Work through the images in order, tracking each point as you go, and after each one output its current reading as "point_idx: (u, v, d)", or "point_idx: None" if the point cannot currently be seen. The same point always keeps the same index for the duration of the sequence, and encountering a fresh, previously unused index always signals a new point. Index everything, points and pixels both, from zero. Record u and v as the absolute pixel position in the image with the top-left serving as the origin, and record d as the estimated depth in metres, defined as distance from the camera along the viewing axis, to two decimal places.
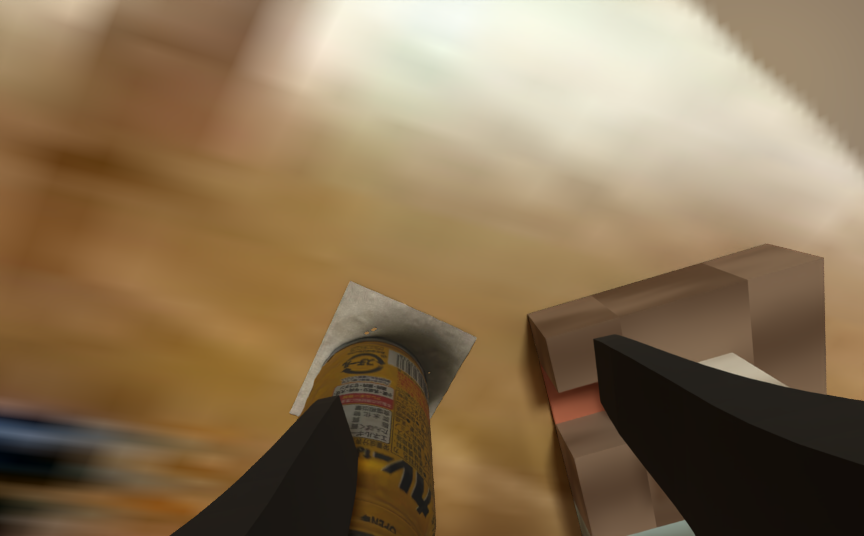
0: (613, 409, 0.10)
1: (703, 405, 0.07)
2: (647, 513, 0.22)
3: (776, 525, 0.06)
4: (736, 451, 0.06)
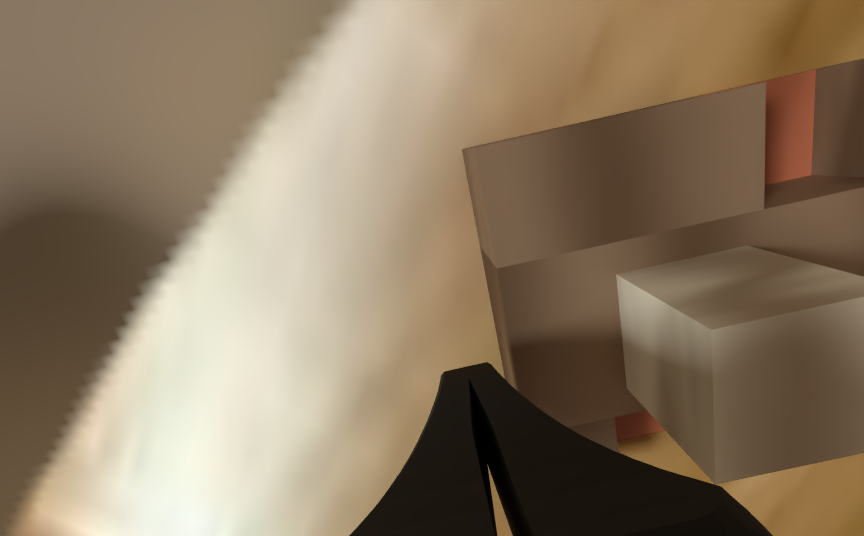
0: (481, 438, 0.10)
1: (499, 449, 0.07)
2: None
3: None
4: (513, 499, 0.06)
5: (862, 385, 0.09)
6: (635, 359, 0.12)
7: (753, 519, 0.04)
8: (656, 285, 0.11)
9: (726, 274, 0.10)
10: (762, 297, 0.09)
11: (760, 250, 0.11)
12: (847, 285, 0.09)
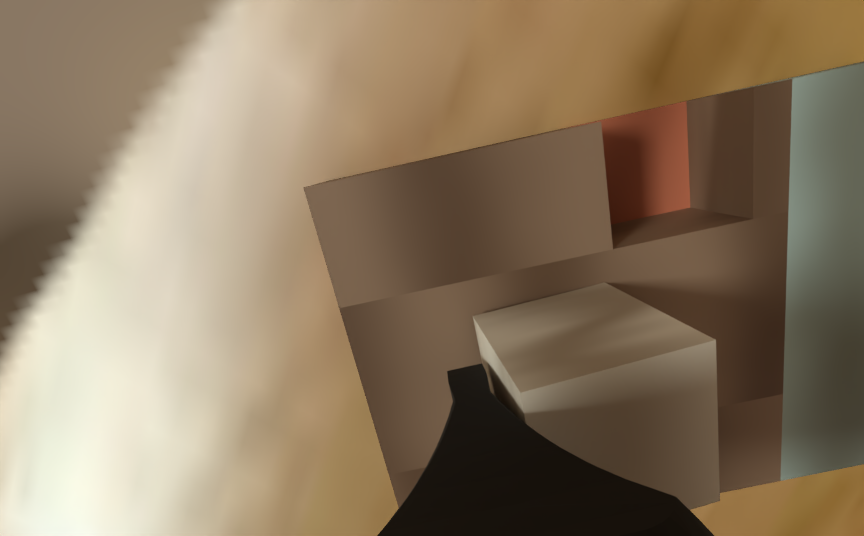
0: None
1: (470, 455, 0.07)
2: (747, 410, 0.13)
3: None
4: None
5: (687, 440, 0.08)
6: None
7: (704, 530, 0.04)
8: (500, 331, 0.10)
9: (569, 318, 0.10)
10: (587, 349, 0.08)
11: (613, 288, 0.11)
12: (668, 335, 0.08)
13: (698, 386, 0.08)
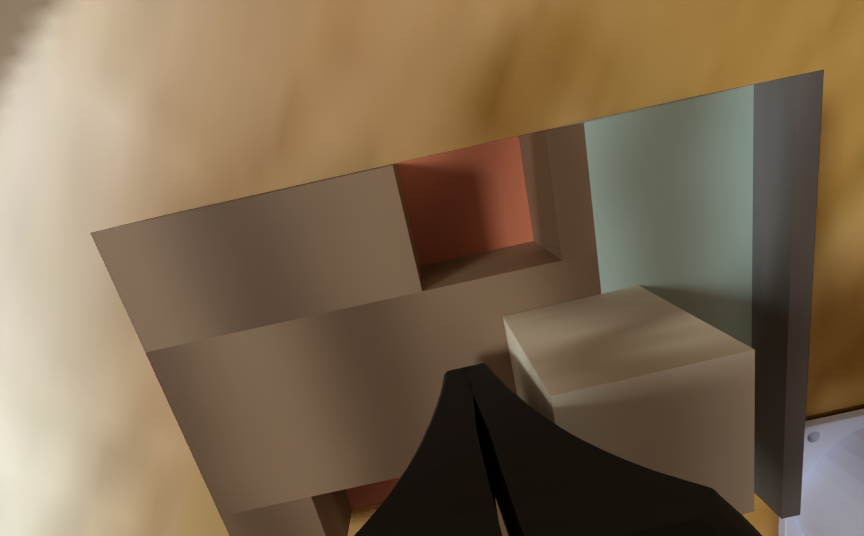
0: None
1: (495, 451, 0.07)
2: None
3: None
4: (508, 501, 0.06)
5: (721, 449, 0.08)
6: None
7: (744, 521, 0.04)
8: (531, 333, 0.10)
9: (601, 322, 0.10)
10: (619, 354, 0.08)
11: (647, 292, 0.11)
12: (703, 343, 0.08)
13: (734, 396, 0.08)
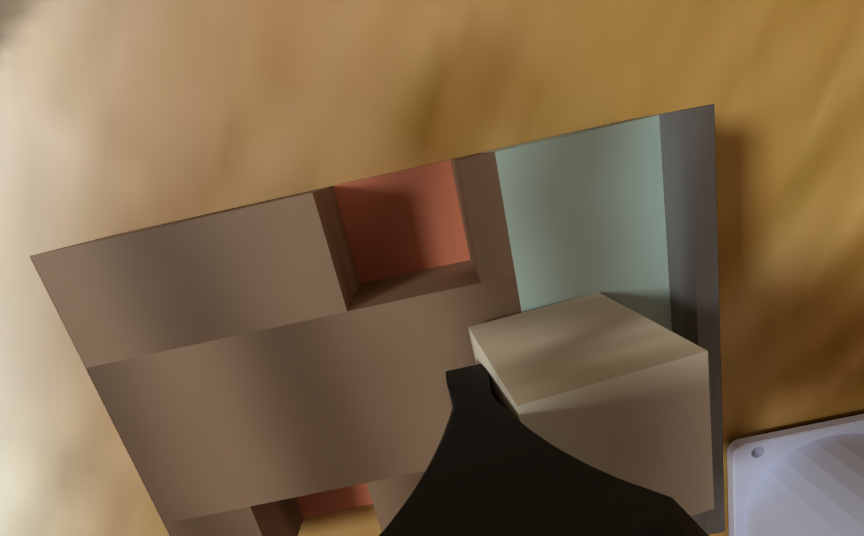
0: None
1: (468, 456, 0.07)
2: None
3: None
4: None
5: (681, 449, 0.08)
6: None
7: (699, 531, 0.04)
8: (496, 343, 0.10)
9: (564, 329, 0.10)
10: (582, 361, 0.09)
11: (606, 298, 0.11)
12: (661, 346, 0.08)
13: (691, 396, 0.08)
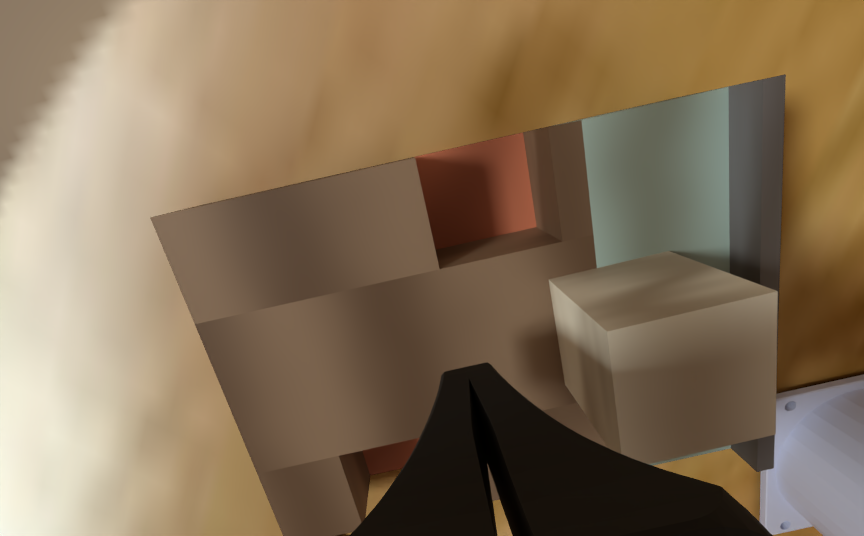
0: (481, 438, 0.10)
1: (500, 449, 0.07)
2: (579, 410, 0.14)
3: None
4: (513, 499, 0.06)
5: (748, 378, 0.10)
6: (567, 357, 0.13)
7: (753, 519, 0.04)
8: (578, 290, 0.12)
9: (640, 279, 0.11)
10: (661, 301, 0.10)
11: (677, 255, 0.12)
12: (733, 289, 0.10)
13: (760, 331, 0.09)
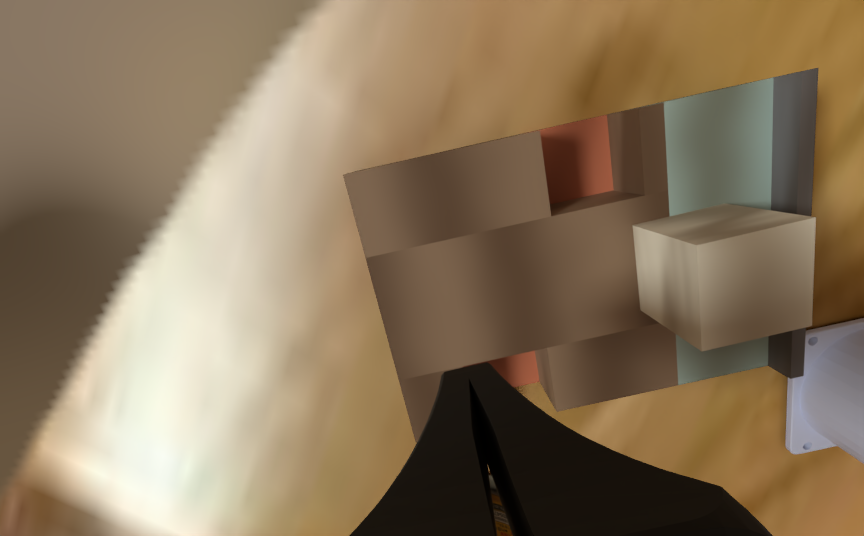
0: (481, 438, 0.10)
1: (500, 449, 0.07)
2: (650, 332, 0.19)
3: None
4: (513, 499, 0.06)
5: (793, 282, 0.14)
6: (647, 284, 0.17)
7: (753, 519, 0.04)
8: (661, 228, 0.16)
9: (708, 219, 0.16)
10: (730, 228, 0.14)
11: (733, 205, 0.17)
12: (783, 218, 0.14)
13: (803, 247, 0.13)
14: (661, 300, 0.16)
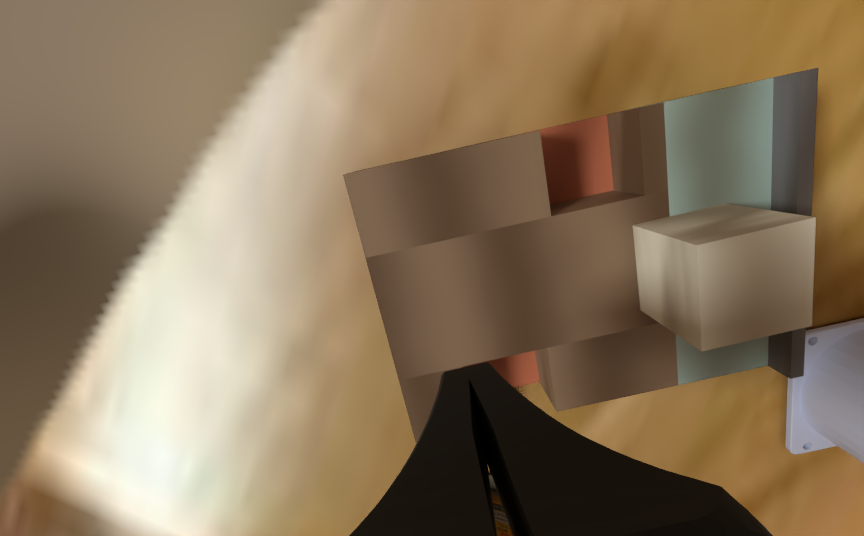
0: (481, 438, 0.10)
1: (500, 449, 0.07)
2: (650, 332, 0.19)
3: None
4: (513, 499, 0.06)
5: (793, 282, 0.14)
6: (647, 284, 0.17)
7: (753, 519, 0.04)
8: (661, 228, 0.16)
9: (708, 219, 0.16)
10: (730, 228, 0.14)
11: (733, 205, 0.17)
12: (783, 218, 0.14)
13: (803, 247, 0.13)
14: (661, 300, 0.16)
